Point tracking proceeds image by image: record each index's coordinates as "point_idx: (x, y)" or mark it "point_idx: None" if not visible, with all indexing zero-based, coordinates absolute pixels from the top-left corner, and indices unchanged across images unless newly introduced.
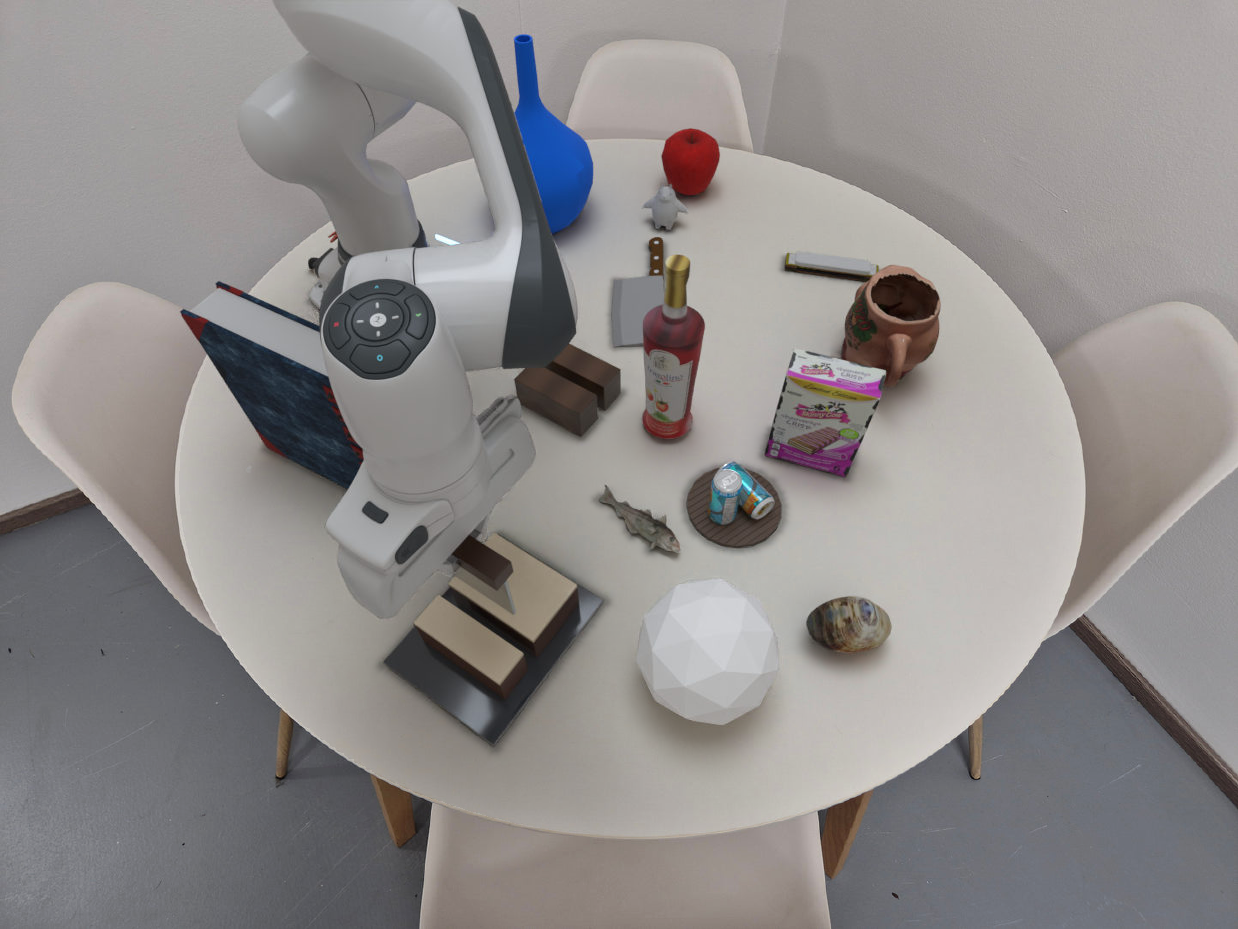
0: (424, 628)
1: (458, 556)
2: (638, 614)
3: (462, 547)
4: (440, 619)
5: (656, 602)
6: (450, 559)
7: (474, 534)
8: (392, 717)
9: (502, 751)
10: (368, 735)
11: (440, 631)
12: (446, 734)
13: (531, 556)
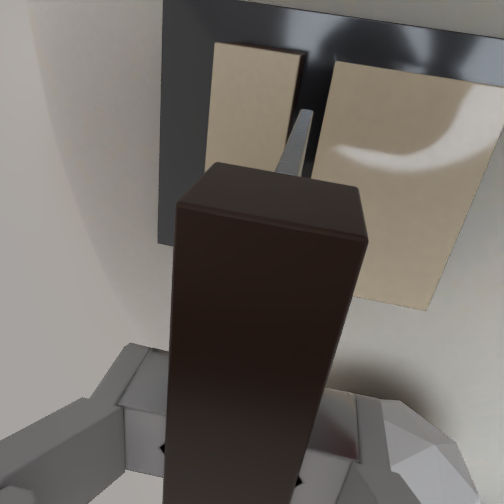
0: (214, 77)
1: (167, 485)
2: (423, 342)
3: (214, 489)
4: (248, 99)
5: (420, 456)
6: (140, 455)
7: (308, 499)
8: (107, 74)
9: (161, 251)
10: (64, 54)
11: (226, 115)
12: (136, 171)
13: (468, 208)
